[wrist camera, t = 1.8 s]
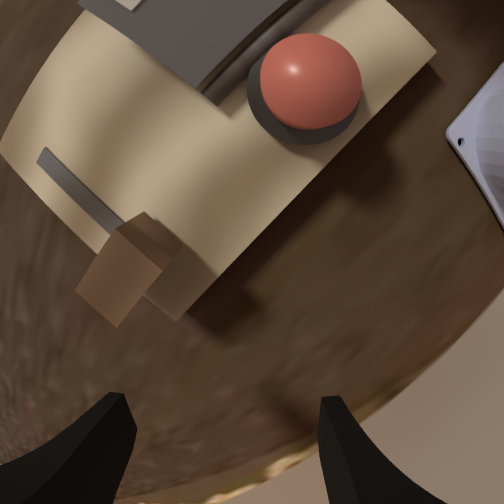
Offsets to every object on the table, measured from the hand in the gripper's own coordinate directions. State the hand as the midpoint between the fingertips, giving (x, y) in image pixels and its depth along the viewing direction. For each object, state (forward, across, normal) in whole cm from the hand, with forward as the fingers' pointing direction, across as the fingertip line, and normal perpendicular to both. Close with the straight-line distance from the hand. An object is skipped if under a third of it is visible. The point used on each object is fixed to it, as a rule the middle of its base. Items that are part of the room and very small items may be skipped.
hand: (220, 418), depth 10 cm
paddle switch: (+5, 0, -17) cm, 18 cm away
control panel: (+8, +1, -13) cm, 15 cm away
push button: (+5, -4, -11) cm, 13 cm away
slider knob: (+6, +4, -4) cm, 9 cm away
